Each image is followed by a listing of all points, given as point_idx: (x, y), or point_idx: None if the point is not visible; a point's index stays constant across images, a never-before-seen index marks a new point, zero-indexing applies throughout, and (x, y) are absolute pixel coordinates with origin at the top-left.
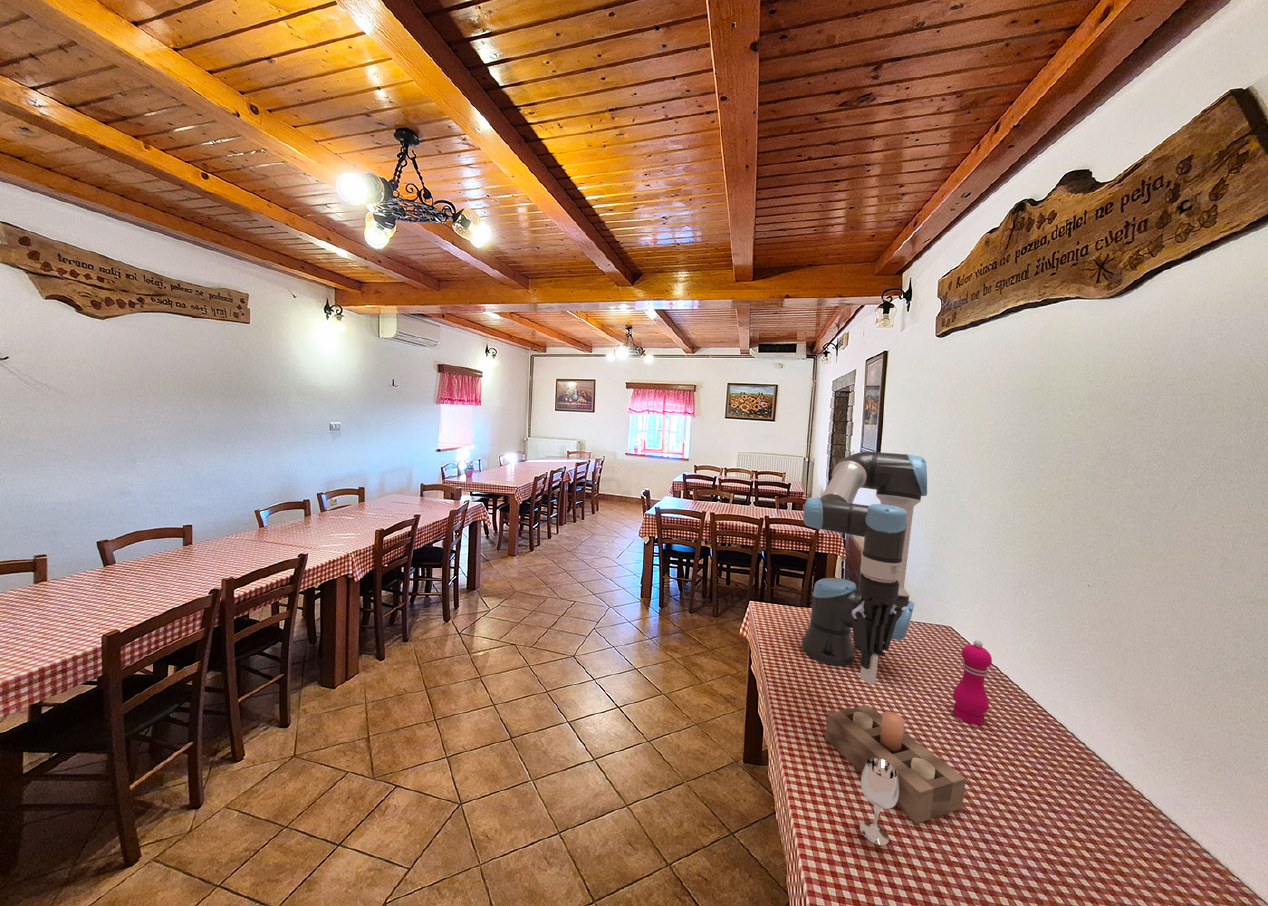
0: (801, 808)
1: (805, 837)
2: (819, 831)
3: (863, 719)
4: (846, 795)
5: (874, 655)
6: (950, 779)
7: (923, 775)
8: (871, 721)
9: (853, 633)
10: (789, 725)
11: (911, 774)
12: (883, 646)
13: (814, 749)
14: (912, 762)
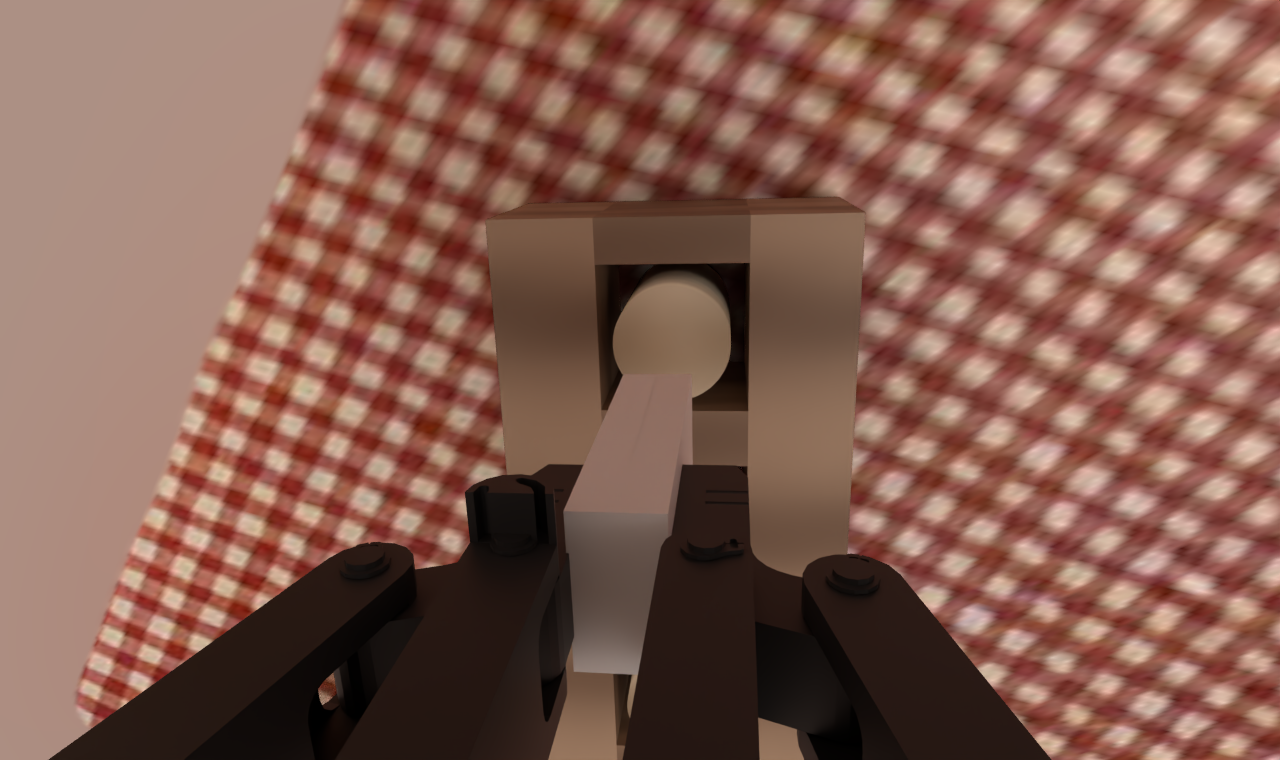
0: (168, 508)
1: (124, 597)
2: (184, 595)
3: (657, 361)
4: (386, 511)
5: (611, 660)
6: None
7: None
8: (695, 390)
9: (101, 735)
10: (387, 51)
11: (585, 702)
12: (799, 733)
13: (416, 258)
14: (635, 683)
